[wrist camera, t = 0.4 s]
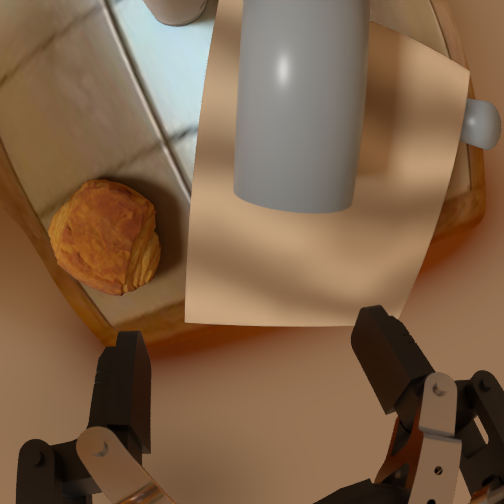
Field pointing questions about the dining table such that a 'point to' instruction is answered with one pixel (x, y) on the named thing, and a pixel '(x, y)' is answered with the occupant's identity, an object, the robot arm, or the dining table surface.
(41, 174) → the dining table surface
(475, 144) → the grey rounded cylinder
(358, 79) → the grey lying cylinder
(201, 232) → the wooden shelf stand
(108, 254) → the croissant
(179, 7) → the travel mug
